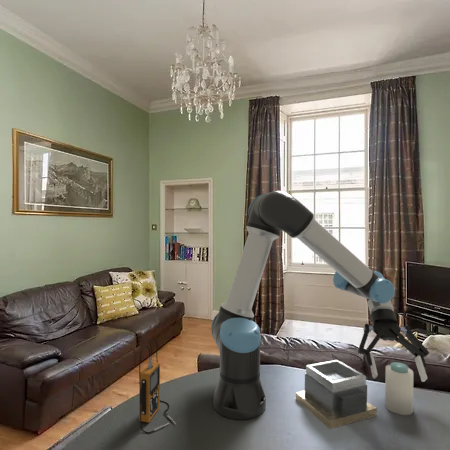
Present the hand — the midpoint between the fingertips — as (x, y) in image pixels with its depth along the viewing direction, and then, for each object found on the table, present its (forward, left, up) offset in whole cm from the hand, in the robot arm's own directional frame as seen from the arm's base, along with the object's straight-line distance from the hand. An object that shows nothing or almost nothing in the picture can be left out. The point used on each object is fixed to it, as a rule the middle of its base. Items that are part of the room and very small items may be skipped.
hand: (399, 378), depth 94 cm
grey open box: (-6, -19, -7) cm, 21 cm away
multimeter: (-19, -66, -8) cm, 69 cm away
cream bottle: (+1, -2, -7) cm, 8 cm away
